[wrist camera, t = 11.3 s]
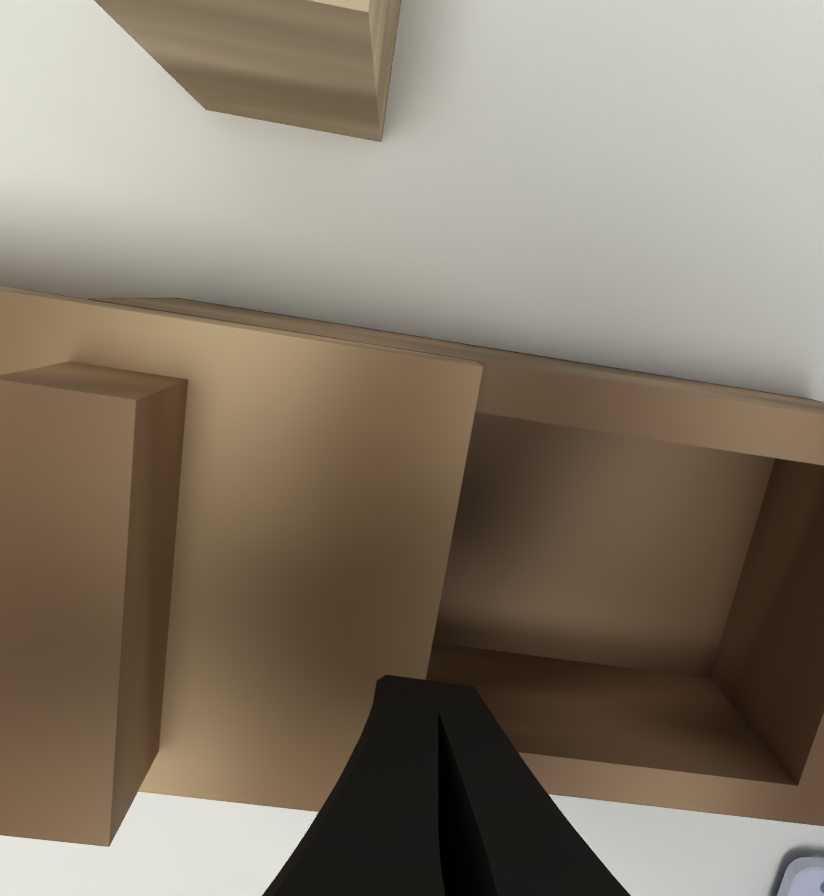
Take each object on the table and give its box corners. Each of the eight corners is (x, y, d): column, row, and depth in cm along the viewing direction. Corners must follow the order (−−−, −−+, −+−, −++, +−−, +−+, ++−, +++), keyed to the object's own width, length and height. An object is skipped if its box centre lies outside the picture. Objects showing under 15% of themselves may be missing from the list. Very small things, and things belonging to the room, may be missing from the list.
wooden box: (811, 399, 14) (968, 438, 10) (720, 696, 16) (825, 826, 12) (177, 297, 13) (87, 298, 9) (153, 623, 15) (70, 738, 11)
